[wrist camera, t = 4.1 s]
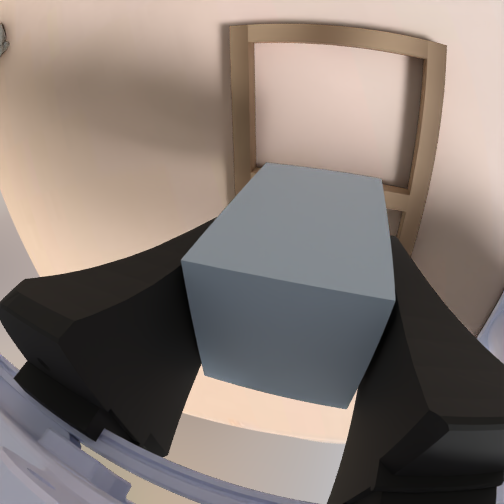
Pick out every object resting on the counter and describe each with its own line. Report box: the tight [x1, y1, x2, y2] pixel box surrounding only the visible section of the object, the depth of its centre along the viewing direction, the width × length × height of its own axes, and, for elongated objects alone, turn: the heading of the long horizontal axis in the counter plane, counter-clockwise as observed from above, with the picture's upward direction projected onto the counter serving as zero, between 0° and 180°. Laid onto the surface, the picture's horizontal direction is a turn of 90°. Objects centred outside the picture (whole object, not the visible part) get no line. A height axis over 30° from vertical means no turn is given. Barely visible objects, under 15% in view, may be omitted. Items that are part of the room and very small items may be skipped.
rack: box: [229, 24, 447, 257], centre depth 19 cm, size 11×27×1 cm, turn 1°
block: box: [181, 163, 396, 409], centre depth 9 cm, size 4×4×6 cm
